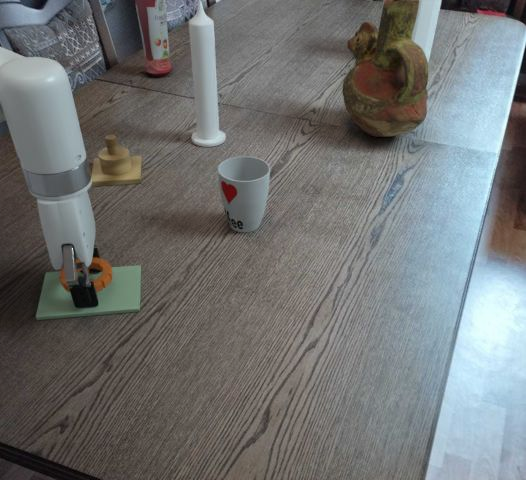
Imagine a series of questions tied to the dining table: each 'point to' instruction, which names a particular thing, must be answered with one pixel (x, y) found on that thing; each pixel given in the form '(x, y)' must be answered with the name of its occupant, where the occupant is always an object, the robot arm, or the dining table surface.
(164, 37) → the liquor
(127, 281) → the mat
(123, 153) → the stand
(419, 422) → the dining table surface
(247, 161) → the cup
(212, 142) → the candle
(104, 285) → the ring
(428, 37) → the container
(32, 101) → the robot arm
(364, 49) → the ceramic vessel
